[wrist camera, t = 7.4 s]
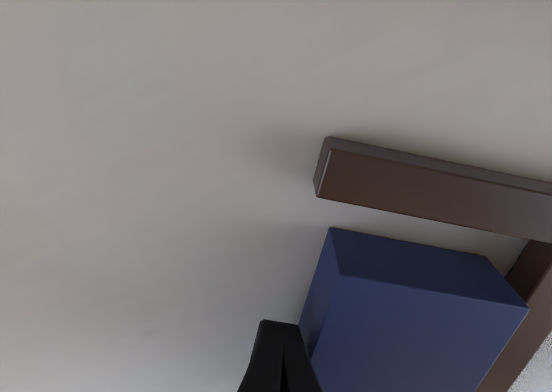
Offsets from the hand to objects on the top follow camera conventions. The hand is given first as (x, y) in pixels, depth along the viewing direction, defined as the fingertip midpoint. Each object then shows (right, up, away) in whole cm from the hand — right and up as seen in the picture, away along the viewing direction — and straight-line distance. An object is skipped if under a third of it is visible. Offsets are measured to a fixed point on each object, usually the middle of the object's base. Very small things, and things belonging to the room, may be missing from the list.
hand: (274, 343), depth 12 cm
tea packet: (+4, 0, +2) cm, 4 cm away
